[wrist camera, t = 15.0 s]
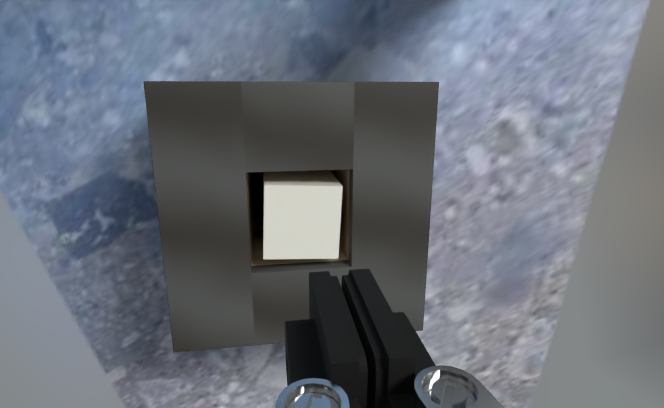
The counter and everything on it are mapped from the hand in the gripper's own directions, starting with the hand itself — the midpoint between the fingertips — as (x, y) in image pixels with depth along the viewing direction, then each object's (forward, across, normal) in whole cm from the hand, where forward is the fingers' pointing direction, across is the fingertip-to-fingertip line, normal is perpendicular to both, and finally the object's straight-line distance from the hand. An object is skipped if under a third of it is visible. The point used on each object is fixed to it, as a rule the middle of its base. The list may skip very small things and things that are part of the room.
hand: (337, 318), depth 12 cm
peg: (+21, 0, +1) cm, 21 cm away
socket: (+21, 0, +1) cm, 21 cm away
